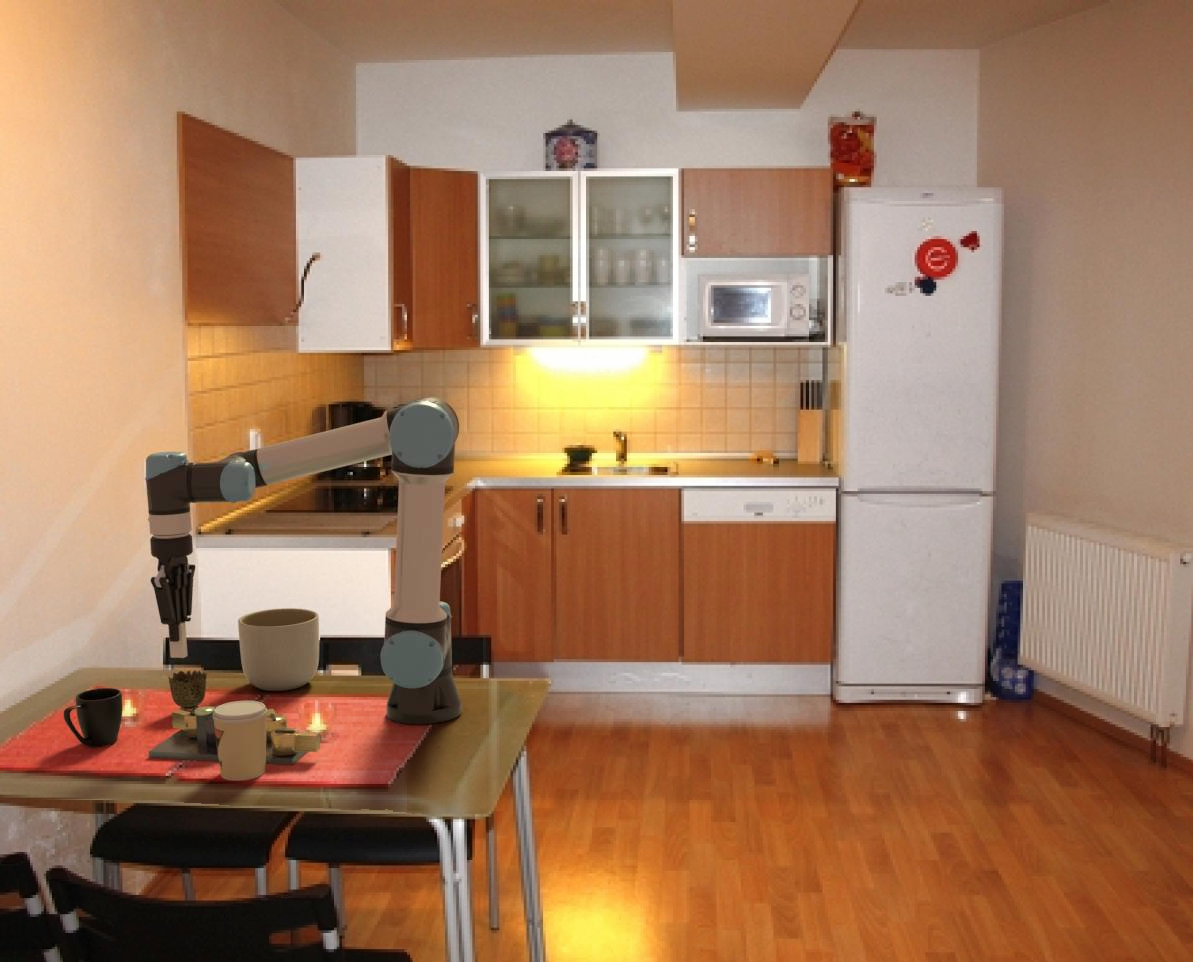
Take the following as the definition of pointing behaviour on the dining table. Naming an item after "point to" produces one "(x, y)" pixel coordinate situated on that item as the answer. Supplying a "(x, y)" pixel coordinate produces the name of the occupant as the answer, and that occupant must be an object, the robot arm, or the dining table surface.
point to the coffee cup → (241, 739)
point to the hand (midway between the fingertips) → (179, 656)
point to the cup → (188, 689)
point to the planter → (279, 647)
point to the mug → (97, 716)
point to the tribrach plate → (209, 754)
